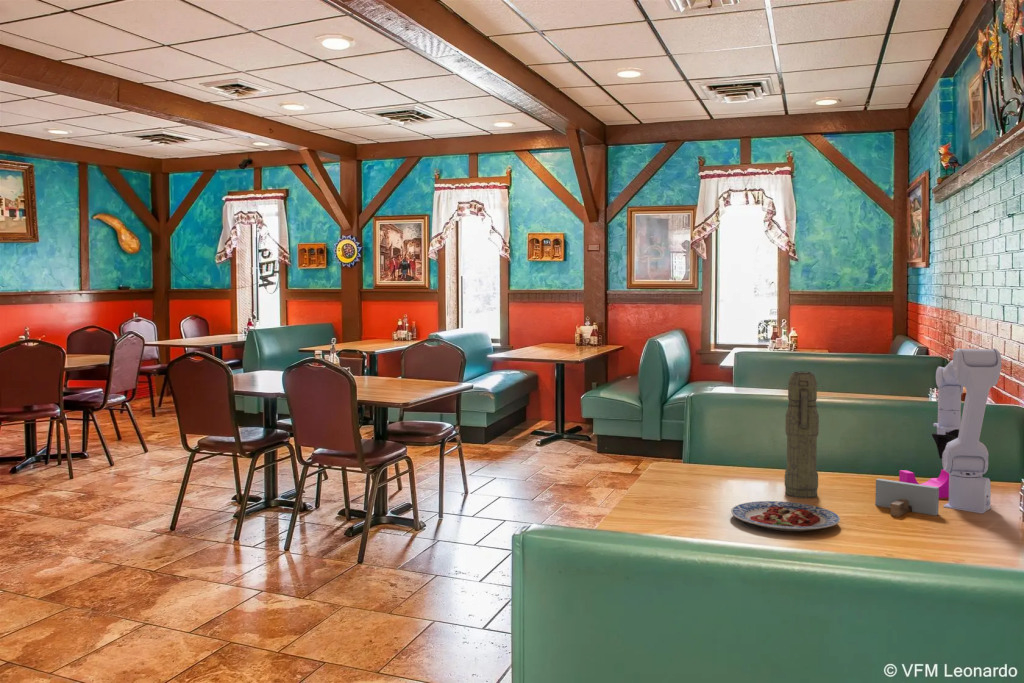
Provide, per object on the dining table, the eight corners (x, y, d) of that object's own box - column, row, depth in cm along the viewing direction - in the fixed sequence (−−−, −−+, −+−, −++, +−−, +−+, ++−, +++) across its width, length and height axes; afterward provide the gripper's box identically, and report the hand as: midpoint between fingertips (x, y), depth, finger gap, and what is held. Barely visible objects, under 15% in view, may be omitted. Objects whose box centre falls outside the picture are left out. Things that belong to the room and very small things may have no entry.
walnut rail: (913, 503, 217) (913, 492, 217) (921, 504, 216) (921, 493, 216) (890, 515, 205) (890, 503, 205) (898, 516, 204) (898, 505, 204)
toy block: (944, 493, 229) (945, 467, 229) (958, 498, 223) (958, 472, 223) (894, 494, 228) (894, 468, 228) (906, 499, 222) (907, 473, 222)
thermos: (789, 500, 222) (791, 374, 220) (780, 490, 233) (781, 370, 232) (823, 500, 221) (824, 374, 219) (812, 490, 232) (813, 370, 231)
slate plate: (938, 514, 206) (938, 487, 206) (935, 515, 205) (936, 488, 204) (878, 504, 217) (878, 478, 216) (875, 505, 215) (875, 479, 215)
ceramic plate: (755, 504, 218) (755, 493, 218) (853, 520, 202) (854, 508, 202) (713, 524, 198) (713, 512, 198) (819, 544, 182) (819, 531, 182)
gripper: (942, 405, 236) (941, 451, 236) (925, 410, 225) (924, 458, 226) (968, 407, 231) (967, 454, 231) (953, 413, 220) (952, 462, 221)
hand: (948, 456), depth 228 cm, fingers open, 7 cm apart
